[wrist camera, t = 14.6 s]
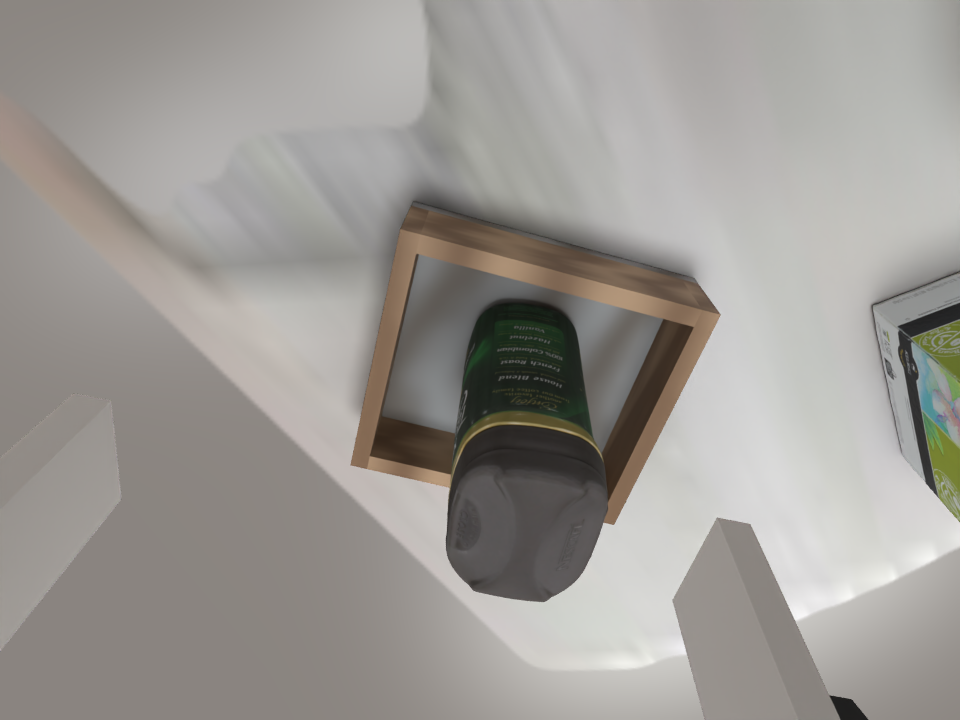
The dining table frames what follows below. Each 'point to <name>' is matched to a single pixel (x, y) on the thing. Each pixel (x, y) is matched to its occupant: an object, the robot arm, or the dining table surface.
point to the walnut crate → (537, 281)
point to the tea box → (926, 381)
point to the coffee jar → (524, 458)
